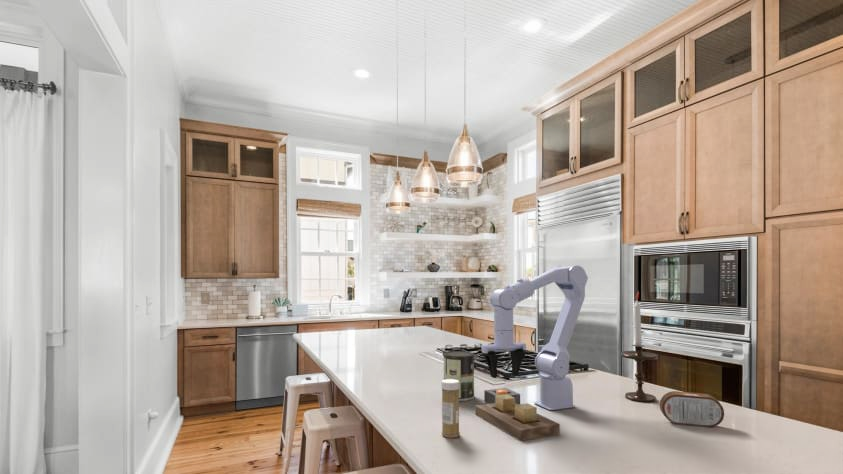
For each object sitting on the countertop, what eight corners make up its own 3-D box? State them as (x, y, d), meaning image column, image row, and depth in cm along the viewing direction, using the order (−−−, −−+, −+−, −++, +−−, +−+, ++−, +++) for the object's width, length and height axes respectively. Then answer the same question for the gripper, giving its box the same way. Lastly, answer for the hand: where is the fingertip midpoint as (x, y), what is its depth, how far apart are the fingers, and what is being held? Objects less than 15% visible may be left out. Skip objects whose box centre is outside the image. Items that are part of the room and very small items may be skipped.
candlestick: (667, 401, 142) (662, 291, 144) (641, 405, 138) (637, 291, 140) (639, 392, 152) (635, 290, 155) (614, 395, 148) (611, 290, 151)
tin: (722, 426, 119) (720, 394, 120) (726, 430, 116) (724, 397, 117) (660, 420, 124) (658, 389, 124) (662, 424, 121) (661, 392, 121)
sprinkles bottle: (463, 436, 111) (463, 381, 112) (448, 439, 108) (448, 383, 110) (452, 430, 115) (452, 377, 116) (437, 434, 112) (437, 379, 113)
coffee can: (472, 392, 151) (472, 350, 152) (476, 401, 141) (475, 356, 142) (442, 392, 151) (442, 350, 153) (443, 401, 141) (443, 356, 142)
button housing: (505, 398, 144) (505, 387, 144) (520, 405, 136) (520, 394, 137) (484, 401, 141) (484, 390, 141) (498, 408, 133) (498, 396, 134)
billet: (527, 426, 118) (527, 403, 119) (537, 431, 115) (536, 407, 115) (515, 428, 117) (514, 404, 117) (524, 433, 113) (523, 409, 114)
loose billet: (507, 415, 127) (507, 394, 128) (515, 420, 123) (515, 397, 124) (495, 417, 125) (495, 395, 126) (503, 421, 122) (503, 399, 122)
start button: (503, 396, 141) (503, 389, 141) (510, 399, 138) (510, 391, 138) (494, 397, 140) (493, 390, 140) (500, 400, 136) (500, 392, 137)
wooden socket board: (510, 409, 133) (510, 400, 133) (559, 434, 112) (559, 423, 113) (475, 414, 128) (475, 405, 128) (520, 440, 108) (520, 430, 108)
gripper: (516, 326, 139) (516, 371, 138) (475, 329, 133) (476, 375, 132) (530, 329, 132) (531, 375, 131) (488, 332, 127) (489, 380, 126)
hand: (504, 376), depth 131 cm, fingers open, 7 cm apart
